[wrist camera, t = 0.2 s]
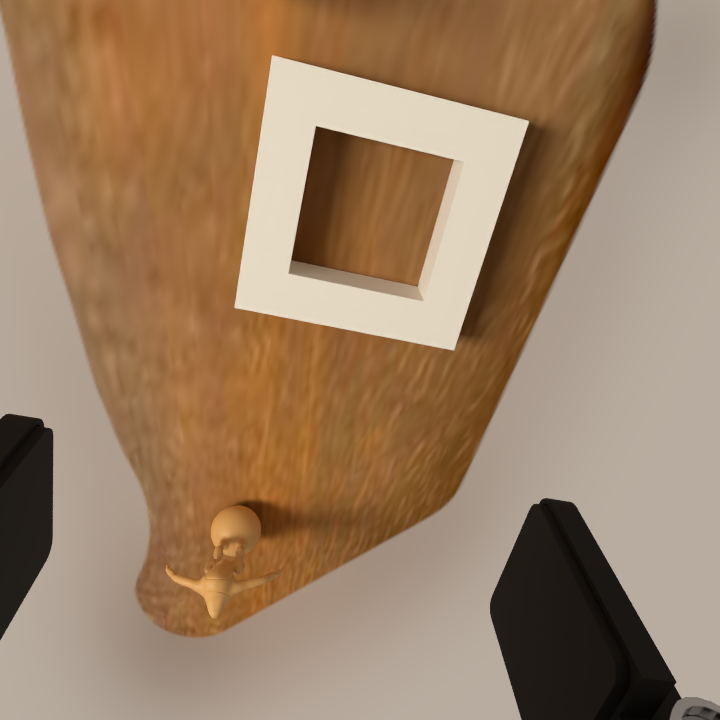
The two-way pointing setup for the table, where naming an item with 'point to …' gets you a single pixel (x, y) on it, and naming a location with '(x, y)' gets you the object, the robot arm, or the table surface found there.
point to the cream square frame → (393, 126)
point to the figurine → (233, 538)
